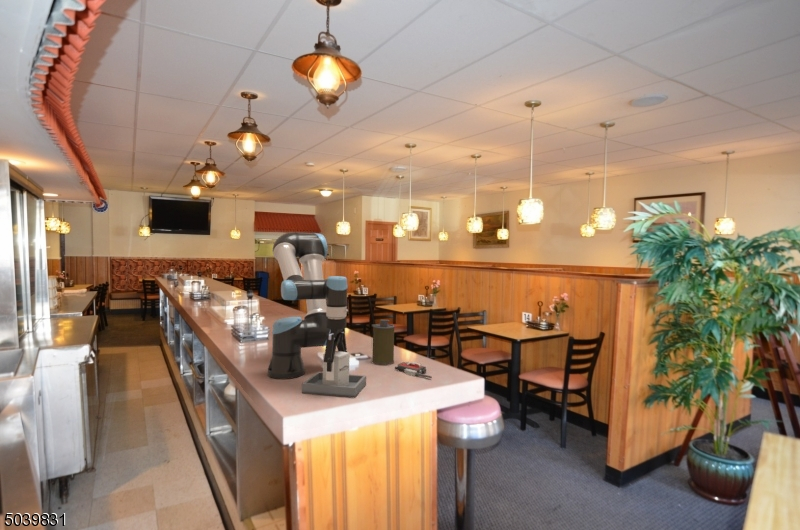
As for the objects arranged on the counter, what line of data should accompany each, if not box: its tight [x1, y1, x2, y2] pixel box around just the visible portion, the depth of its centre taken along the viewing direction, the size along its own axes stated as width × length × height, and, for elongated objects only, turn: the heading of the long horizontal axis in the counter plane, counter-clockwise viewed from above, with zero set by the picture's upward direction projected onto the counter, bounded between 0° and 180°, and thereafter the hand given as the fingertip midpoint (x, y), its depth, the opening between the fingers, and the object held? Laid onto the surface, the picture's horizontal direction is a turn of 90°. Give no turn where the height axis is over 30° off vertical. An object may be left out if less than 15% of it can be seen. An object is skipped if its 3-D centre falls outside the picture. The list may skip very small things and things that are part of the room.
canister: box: [370, 319, 395, 366], centre depth 192 cm, size 11×10×20 cm
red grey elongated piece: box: [394, 361, 433, 379], centre depth 176 cm, size 9×4×20 cm
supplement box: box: [322, 350, 350, 386], centre depth 154 cm, size 7×7×13 cm
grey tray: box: [301, 371, 367, 399], centre depth 154 cm, size 20×15×4 cm
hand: (335, 375), depth 154 cm, fingers open, 11 cm apart
